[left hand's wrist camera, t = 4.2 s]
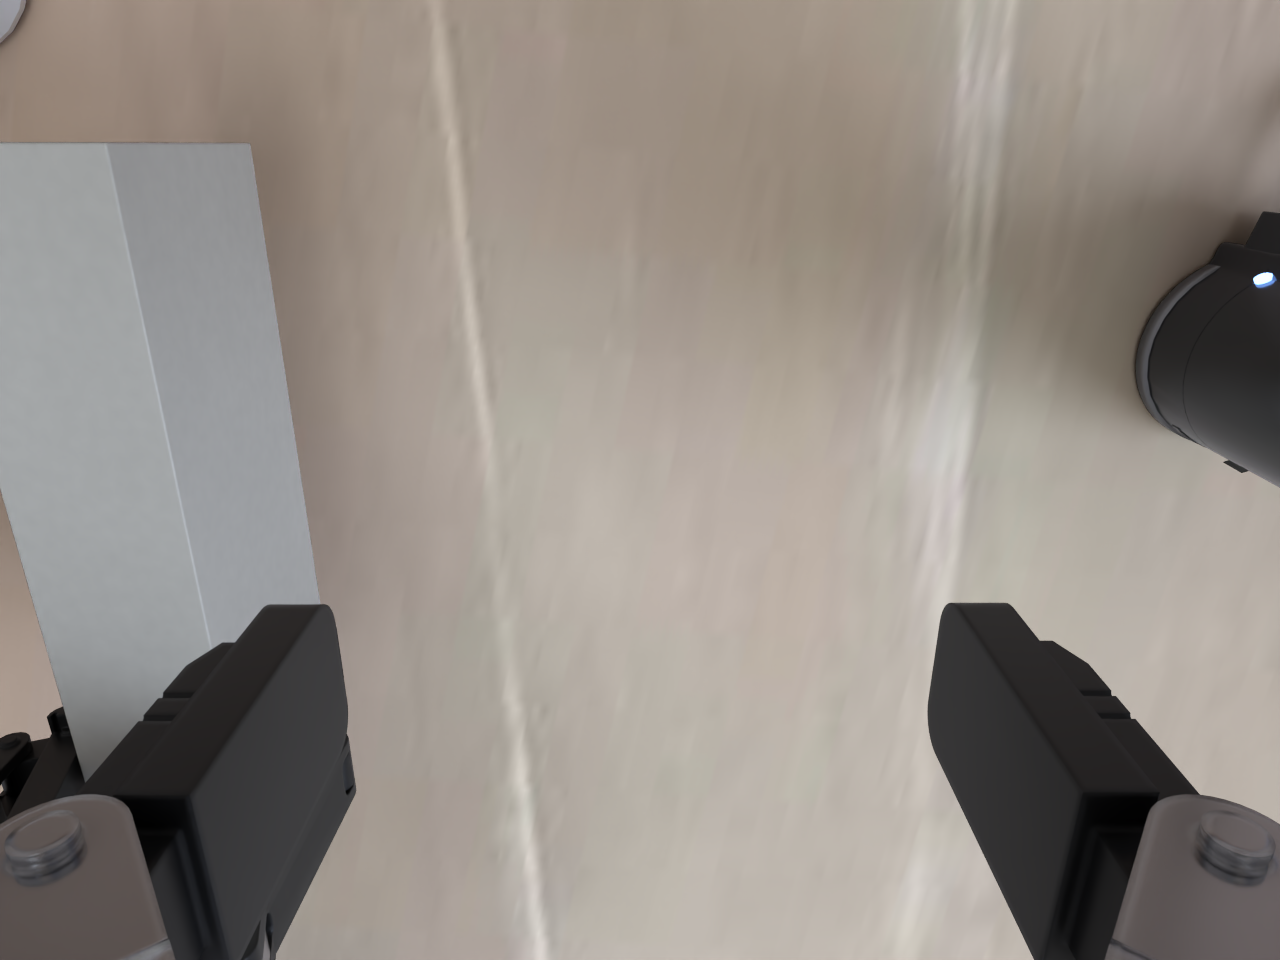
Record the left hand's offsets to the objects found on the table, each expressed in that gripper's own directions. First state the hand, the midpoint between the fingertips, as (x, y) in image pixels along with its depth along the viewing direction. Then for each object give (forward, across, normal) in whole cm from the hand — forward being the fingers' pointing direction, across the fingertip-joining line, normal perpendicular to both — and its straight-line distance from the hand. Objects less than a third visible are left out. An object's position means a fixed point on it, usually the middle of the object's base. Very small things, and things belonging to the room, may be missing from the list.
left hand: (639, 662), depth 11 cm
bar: (+24, -17, -7) cm, 31 cm away
